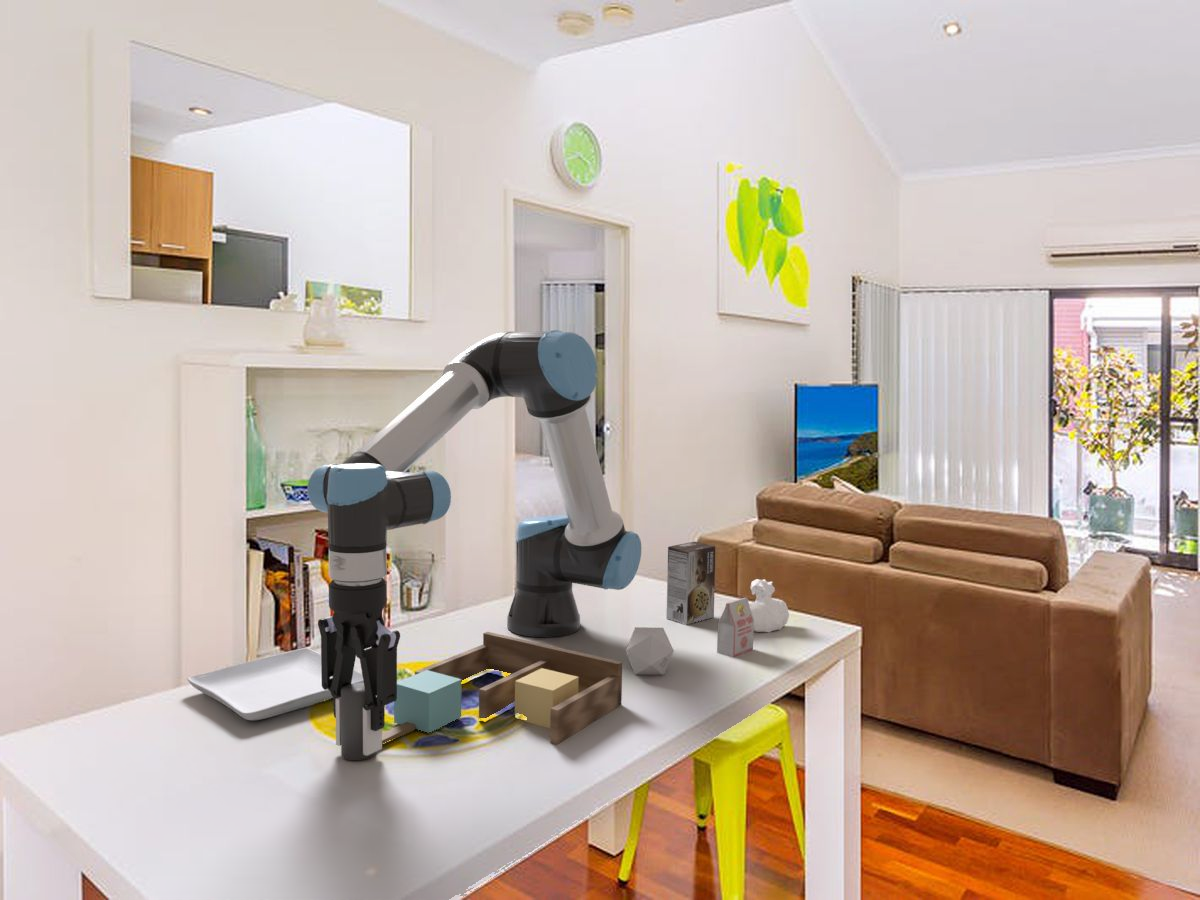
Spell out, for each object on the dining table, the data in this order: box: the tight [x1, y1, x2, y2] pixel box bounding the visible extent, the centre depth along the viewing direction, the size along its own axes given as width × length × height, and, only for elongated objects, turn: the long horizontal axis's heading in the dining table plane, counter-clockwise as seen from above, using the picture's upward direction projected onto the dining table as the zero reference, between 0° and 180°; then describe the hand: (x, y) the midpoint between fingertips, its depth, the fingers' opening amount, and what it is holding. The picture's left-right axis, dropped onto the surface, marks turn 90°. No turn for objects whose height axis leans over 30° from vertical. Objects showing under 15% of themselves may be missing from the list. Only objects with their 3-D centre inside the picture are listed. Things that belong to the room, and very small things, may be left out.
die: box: [625, 626, 675, 676], centre depth 152 cm, size 8×9×10 cm
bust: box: [749, 578, 790, 633], centre depth 181 cm, size 12×8×11 cm
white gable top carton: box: [716, 597, 755, 658], centre depth 164 cm, size 4×7×10 cm, turn 137°
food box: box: [665, 541, 716, 625], centre depth 186 cm, size 9×6×16 cm
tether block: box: [340, 670, 462, 761], centre depth 123 cm, size 19×7×9 cm, turn 148°
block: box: [514, 668, 579, 729], centre depth 131 cm, size 7×7×6 cm
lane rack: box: [414, 631, 623, 745], centre depth 136 cm, size 18×28×7 cm, turn 58°
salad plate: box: [187, 647, 364, 721], centre depth 138 cm, size 21×21×3 cm
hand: (358, 746), depth 117 cm, fingers closed on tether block, 5 cm apart
